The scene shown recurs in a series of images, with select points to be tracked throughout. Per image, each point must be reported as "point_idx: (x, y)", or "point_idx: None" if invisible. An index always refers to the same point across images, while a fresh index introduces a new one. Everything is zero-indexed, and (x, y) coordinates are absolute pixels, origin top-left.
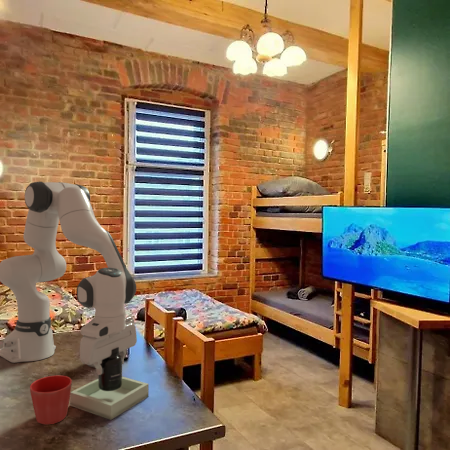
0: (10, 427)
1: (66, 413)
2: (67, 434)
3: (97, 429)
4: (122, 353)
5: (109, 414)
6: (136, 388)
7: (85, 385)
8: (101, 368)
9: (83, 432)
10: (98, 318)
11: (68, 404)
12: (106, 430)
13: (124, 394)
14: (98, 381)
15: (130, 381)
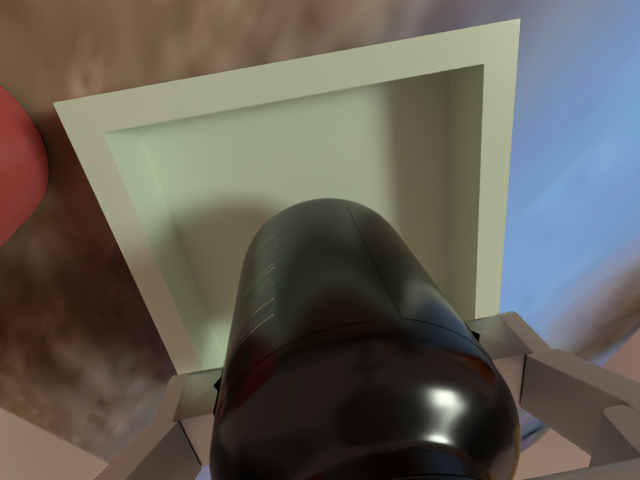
0: None
1: (25, 220)
2: (4, 341)
3: (132, 383)
4: (597, 431)
5: None
6: None
7: (217, 86)
8: (189, 472)
9: (73, 368)
10: None
11: (8, 235)
12: (158, 407)
13: None
14: (246, 261)
15: (474, 269)
